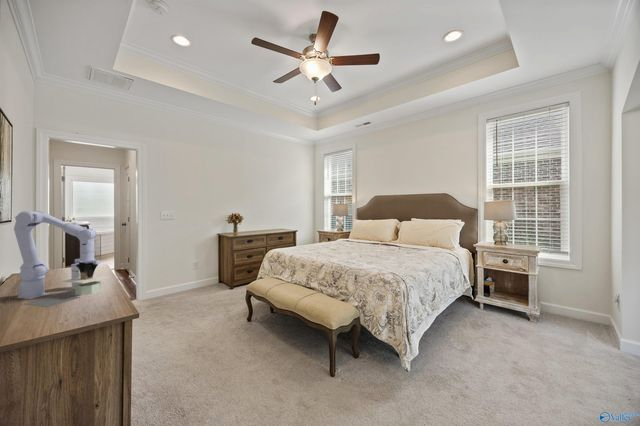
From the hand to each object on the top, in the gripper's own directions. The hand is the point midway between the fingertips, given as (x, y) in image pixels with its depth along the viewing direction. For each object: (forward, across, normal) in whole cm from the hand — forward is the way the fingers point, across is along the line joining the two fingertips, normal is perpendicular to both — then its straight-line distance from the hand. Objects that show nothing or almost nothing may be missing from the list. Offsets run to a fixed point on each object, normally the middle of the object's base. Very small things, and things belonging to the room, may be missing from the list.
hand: (87, 276), depth 141 cm
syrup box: (+9, -12, +5) cm, 16 cm away
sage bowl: (+9, 0, 0) cm, 9 cm away
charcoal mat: (+9, -3, -14) cm, 17 cm away
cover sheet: (+2, 0, 0) cm, 2 cm away
